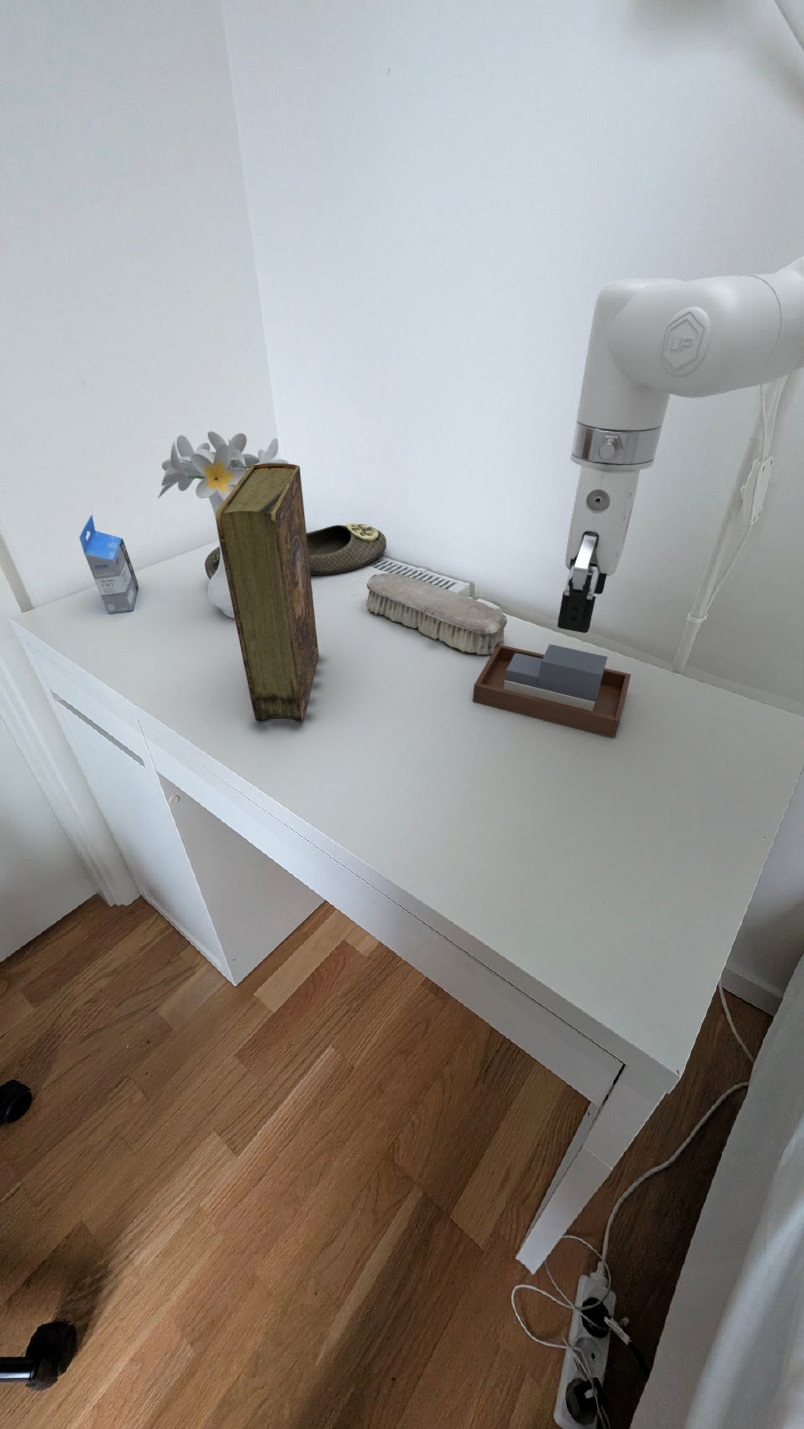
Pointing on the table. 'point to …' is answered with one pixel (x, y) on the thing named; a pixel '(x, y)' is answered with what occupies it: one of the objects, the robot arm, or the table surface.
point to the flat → (331, 549)
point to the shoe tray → (595, 721)
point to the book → (271, 587)
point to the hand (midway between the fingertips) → (580, 609)
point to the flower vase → (214, 485)
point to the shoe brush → (437, 612)
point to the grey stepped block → (558, 676)
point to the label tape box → (110, 568)
